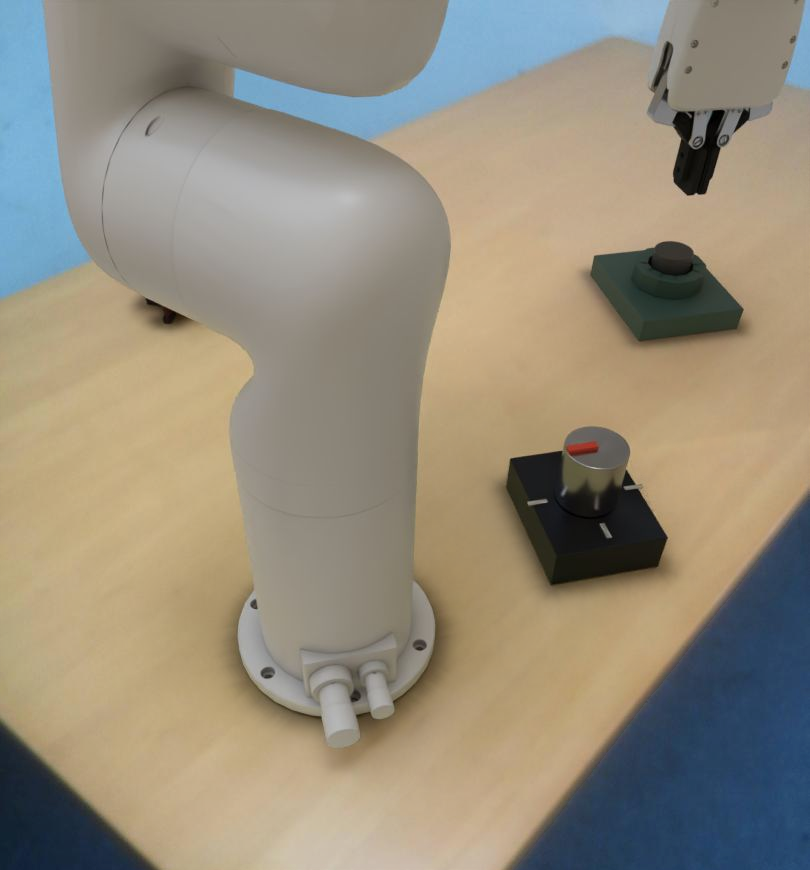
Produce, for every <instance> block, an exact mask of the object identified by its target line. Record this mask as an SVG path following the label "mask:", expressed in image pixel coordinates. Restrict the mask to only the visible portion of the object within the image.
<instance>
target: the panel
mask: <svg viewBox="0 0 810 870" xmlns="http://www.w3.org/2000/svg"><path fill="white" fill-rule="evenodd" d="M562 451H563V450H556V451H550V452H549V451H548V452H542V453H535V454H530V455H529V454H528V455H523V456H522V455H521V456H516V457H510V458H509V463H508V470H507V477H506V485H505V488H506V491H507V492H508V495H509V498H510V499H511V502H512V504H513V506H514V509H515V511H516V513H517V515H518V518H519V519H520V522H521V524H522V526H523V528H524V530H525V532H526V535H527V537H528V539H529V541H530V543H531V546H532V548H533V550H534V552H535V554H536V556H537V559H538V560H539V563H540V564H541V565H540V566H541V567H542V570H543V571H544V574H545V576H546V579H547V580H548V583H549V584H550V586H554V585H561V584H565V583H572V582H577V581H583V580H588V579H595V578H600V577H606V576H611V575H616V574H617V575H618V574H622V573H628V572H634V571H640V570H646V569H651V568H657V567H659V565H660V562H661V559H662V556H663V554H664V550H665V548H666V545H667V541H668V539H669V537H668V535H667V533H666V532H665V530H664V529H663V528H664V527H662V525H661V524H660V522H659V520H658V518H657V517H656V515H655V513H654V512H653V511H652V509H651V507H650V506H649V505H650V504H649V503H648V502H647V500H646V499H645V497H644V495H643V494H642V492H641V490H643V489H644V485H643V484H642V483H638V484H636V482H635V481H634V479H633V477H632V476H631V474H630V472H629V471H628V469H627V468H626V471H625V475H624V479H623V482H622V486H621V490H620V493H619V497H618V501H617V504H616V506H615V507H614V509H613V510H612V511H611V512H609V513H607V514H605V515H603V516H599V517H583V516H579V515H576V514H573V513H571V512H569V511H567V510H566V509H564V508H563V507H562V506H561V505H560V504H559V503H558V501H557V499H556V496H555V487H556V482H557V477H558V472H559V467H560V462H561V457H562Z"/></svg>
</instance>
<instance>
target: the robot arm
mask: <svg viewBox="0 0 810 870" xmlns="http://www.w3.org/2000/svg"><path fill="white" fill-rule="evenodd" d="M449 3H450V0H42V8H43V9H42V10H43V18H44V27H45V28H44V29H45V38H46V39H45V40H46V48H47V49H46V51H47V58H48V59H47V60H48V69H49V78H50V79H49V80H50V87H51V88H50V89H51V97H52V98H51V99H52V107H53V117H54V128H55V138H56V145H57V154H58V163H59V171H60V178H61V184H62V190H63V195H64V199H65V204H66V208H67V211H68V215H69V218H70V222H71V224H72V227H73V229H74V231H75V234H76V236H77V238H78V241H79V242H80V244H81V246H82V248H83V249H84V251H85V252H86V254H87V255H88V256H89V258H90V259H91V260H92V262H94V263H95V265H96V266H97V267H98V268H99V269H100V270H102V271H103V272H104V273H105V274H106V276H108V277H109V278H111V279H112V280H114V281H115V282H117V283H118V284H119V285H122V286H124V287H125V288H127V289H128V290H130V291H133V292H134V293H136V294H138V295H140V296H142V297H144V298H145V299H146V298H148V299H150V300H152V301H154V302H156V303H158V304H160V305H162V306H165V307H167V308H169V309H171V310H173V311H175V312H177V313H178V315H179V314H180V315H181V316H184V317H186V318H188V319H190V320H193V321H194V322H197V323H198V324H200V325H202V326H204V327H205V328H207V329H209V330H211V331H212V332H215V333H217V334H219V335H221V336H223V337H225V338H226V339H229V340H231V341H232V342H234V343H235V344H237V345H238V346H239V347H240V348H242V350H244V352H245V353H247V355H248V357H249V359H250V360H251V362H252V366H253V374H252V376H251V377H250V378H249V379H248V380H247V381H246V382H245V383H244V384H243V385H242V387H241V388H240V390H239V392H238V393H237V395H236V396H235V398H234V401H233V403H232V406H231V409H230V414H229V421H228V438H229V447H230V454H231V459H232V460H231V461H232V466H233V471H234V475H235V480H236V486H237V493H238V499H239V506H240V510H241V516H242V517H241V518H242V521H243V529H244V534H245V540H246V541H245V542H246V546H247V547H246V548H247V552H248V560H249V565H250V571H251V576H252V577H251V578H252V584H253V589H254V590H253V591H252V592H251V593H250V595H249V596H248V598H247V600H246V601H245V603H244V605H243V607H242V610H241V613H240V615H239V619H238V627H237V642H238V650H239V654H240V658H241V662H242V664H243V667H244V669H245V671H246V673H247V675H248V677H249V678H250V680H251V681H252V682H253V684H254V685H256V687H257V688H258V689H259V690H260V692H261V693H263V694H264V695H265V696H267V697H268V698H270V699H271V700H272V701H274V702H275V703H277V704H279V705H281V706H283V707H285V708H287V709H289V710H291V711H294V712H297V713H301V714H305V715H308V716H314V717H321V720H322V726H323V732H324V736H325V742H326V745H327V746H328V747H330V748H332V749H345V748H348V747H350V746H353V745H355V744H356V743H357V742H358V741H360V738H361V732H360V728H359V727H360V725H359V722H358V718H357V715H362V714H365V713H370V714H371V718H373V719H376V720H383V719H386V718H389V717H391V716H392V715H394V714H395V711H396V709H395V708H396V707H395V705H394V701H395V700H397V699H398V698H400V697H402V696H403V695H404V694H405V693H407V692H409V690H410V689H411V688H412V687H413V686H414V685H415V684H416V683H417V682H418V681H419V680H420V678H421V676H422V675H423V673H424V672H425V671H426V670H427V668H428V665H429V663H430V660H431V658H432V655H433V652H434V648H435V647H434V646H435V640H436V620H435V615H434V610H433V607H432V604H431V602H430V600H429V599H428V596H427V594H426V593H425V591H424V590H423V589H422V588H421V586H420V585H419V583H418V582H417V581H416V580H415V579H414V567H415V565H414V564H415V561H414V560H415V540H416V516H417V515H416V514H417V492H418V490H417V489H418V488H417V487H418V465H419V464H418V463H419V462H418V460H419V437H420V436H419V434H420V433H419V432H420V419H421V418H420V416H421V403H422V402H421V401H422V393H423V386H424V385H423V384H424V376H425V371H426V364H427V359H428V353H429V349H430V346H431V343H432V341H431V340H432V338H433V333H434V329H435V325H436V321H437V318H438V314H439V311H440V307H441V302H442V299H443V295H444V292H445V288H446V284H447V278H448V274H449V270H450V263H451V262H450V261H451V253H452V236H451V227H450V222H449V218H448V215H447V212H446V209H445V207H444V205H443V203H442V201H441V199H440V196H439V195H438V194H437V192H436V190H435V189H434V188H433V186H432V185H431V184H430V183H429V181H428V180H427V178H425V177H424V176H423V175H422V174H421V173H420V172H419V171H418V170H417V169H416V168H415V167H413V165H411V164H410V163H408V162H407V161H406V160H404V159H402V158H401V157H400V156H398V155H396V154H394V153H392V152H391V151H389V150H388V149H385V148H383V147H382V146H380V145H378V144H376V143H373V142H371V141H368V140H366V139H364V138H362V137H360V136H357V135H354V134H351V133H349V132H345V131H342V130H339V129H337V128H334V127H331V126H328V125H324V124H320V123H317V122H315V121H311V120H309V119H305V118H302V117H299V116H296V115H294V114H290V113H288V112H287V113H286V112H284V111H281V110H280V111H279V110H277V109H276V110H275V109H272V108H266V107H264V106H261V105H258V104H254V103H251V102H249V101H245V100H242V99H239V98H237V97H235V78H236V75H235V74H236V69H237V70H240V71H244V72H247V73H249V74H253V75H256V76H259V77H263V78H266V79H270V80H273V81H276V82H280V83H284V84H286V85H290V86H294V87H297V88H301V89H305V90H311V91H314V92H317V93H322V94H327V95H335V96H342V97H349V98H374V97H382V96H386V95H389V94H391V93H394V92H397V91H399V90H402V89H404V88H406V87H407V86H408V85H409V84H410V83H411V82H412V81H413V80H414V79H415V78H416V77H418V76H419V74H421V73H422V72H423V70H424V69H425V68H426V66H427V65H428V63H429V61H430V59H431V58H432V57H433V56H432V55H433V54H434V52H435V50H436V47H437V45H438V42H439V40H440V36H441V33H442V30H443V27H444V23H445V21H446V17H447V12H448V7H449ZM805 5H806V0H669V1H668V4H667V6H666V10H665V14H664V17H663V19H662V23H661V26H660V29H659V32H658V36H657V40H656V44H655V48H654V51H653V55H652V58H651V63H650V66H649V71H648V76H647V88H648V89H649V91H650V92H652V93H653V96H652V98H651V101H650V103H649V106H648V107H647V111H646V115H647V117H648V118H649V119H650V120H651V121H653V122H654V123H656V124H660V125H664V126H667V127H673V129H674V131H675V132H676V134H677V136H678V137H679V138H680V142H679V147H678V150H677V154H676V157H675V162H674V165H673V169H672V178H673V179H672V180H673V183H674V185H675V186H676V187H677V188H678V189H680V190H681V191H682V193H684V195H686V196H687V197H689V196H691V197H693V196H695V195H698V196H702V195H703V196H704V195H706V194H707V193H708V189H709V185H710V183H711V182H710V181H711V180H712V179H713V177H714V173H715V170H716V167H717V163H718V160H719V156H720V153H721V149H722V148H725V147H727V146H728V144H729V143H730V142H731V140H732V138H733V135H734V134H735V133H736V132H738V130H740V129H741V128H742V126H744V125H745V124H746V123H747V122H751V121H754V120H758V119H761V118H763V117H766V116H769V114H770V113H772V110H773V104H774V103H773V102H774V101H775V100H776V99H778V97H779V96H780V93H781V91H782V89H783V87H784V84H785V82H786V79H787V77H788V73H789V70H790V67H791V63H792V60H793V57H794V53H795V49H796V45H797V41H798V38H799V33H800V29H801V25H802V20H803V16H804V11H805ZM162 306H161V307H162Z"/></svg>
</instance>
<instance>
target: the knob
mask: <svg viewBox="0 0 810 870" xmlns="http://www.w3.org/2000/svg"><path fill="white" fill-rule="evenodd" d="M561 451H562V457H561V462H560V467H559V472H558V477H557V482H556V487H555V496H556V499H557V501H558V503H559V504H560V505H561V506H562V507H563V508H564V509H566V510H567V511H569V512H571V513H573V514H576V515H579V516H583V517H599V516H603V515H605V514H607V513H609V512H611V511H612V510H613V509H614V507H615V506H616V504H617V501H618V497H619V493H620V490H621V486H622V482H623V479H624V475H625V471H626V469H627V468H628V464H629V460H630V457H631V447H630V445H629V443H628V441H627V439H626V438H624V437H623V436H622V435H621V434H620V433H618V432H616V431H614V430H611V429H609V428H606V427H602V426H589V425H588V426H582V427H579V428H576V429H574V430H572V431H570V433H568V435H566V437H565V438H564V443H563V447H562V450H561Z"/></svg>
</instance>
